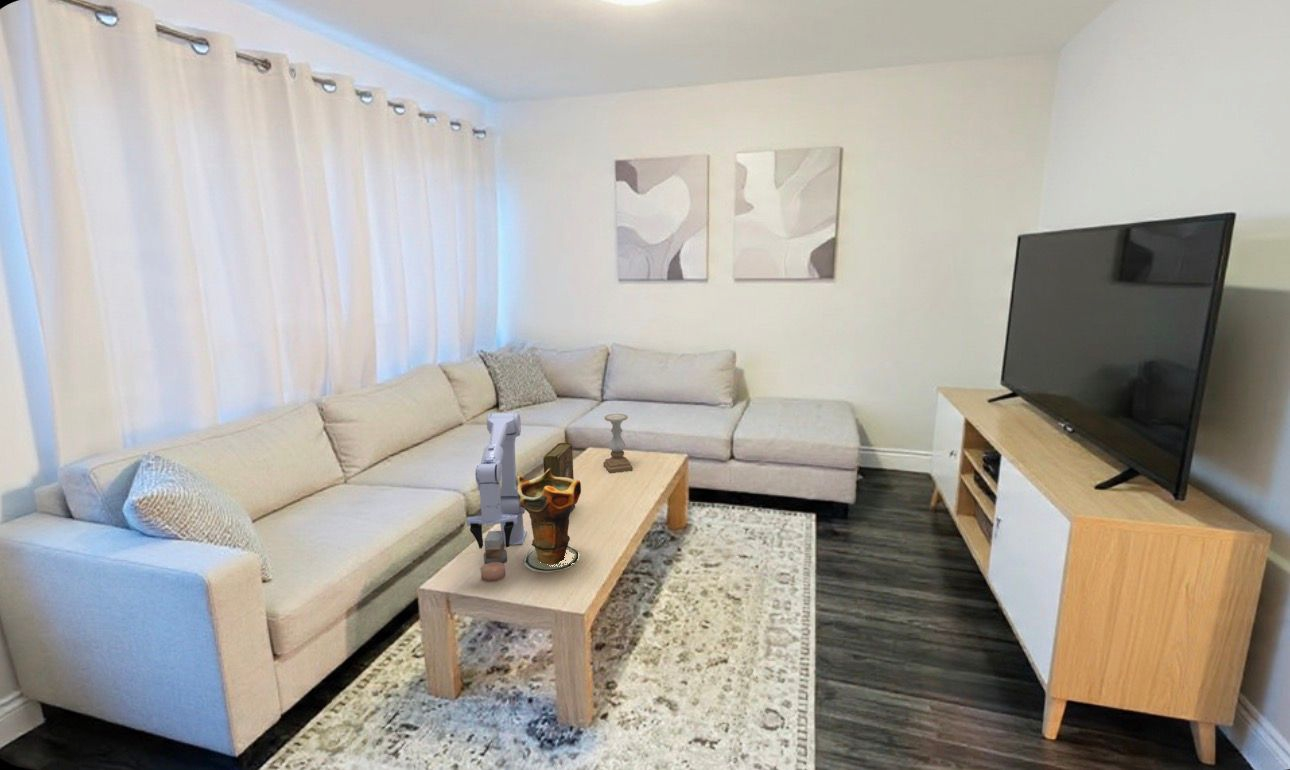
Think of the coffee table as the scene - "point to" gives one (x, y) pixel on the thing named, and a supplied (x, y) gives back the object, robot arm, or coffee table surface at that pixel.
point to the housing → (494, 544)
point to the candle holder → (617, 446)
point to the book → (560, 461)
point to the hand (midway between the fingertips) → (494, 546)
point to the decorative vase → (548, 518)
